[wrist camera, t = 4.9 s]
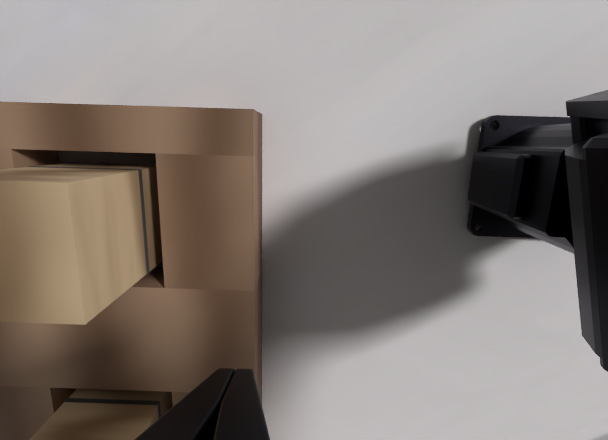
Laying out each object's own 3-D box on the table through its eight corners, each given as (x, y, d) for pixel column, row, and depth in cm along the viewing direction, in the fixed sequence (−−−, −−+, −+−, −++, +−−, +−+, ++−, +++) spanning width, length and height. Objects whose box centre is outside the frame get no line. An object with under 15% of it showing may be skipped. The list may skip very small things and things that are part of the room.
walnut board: (262, 114, 18) (228, 94, 11) (261, 472, 24) (239, 633, 16) (-33, 105, 18) (-283, 79, 11) (33, 464, 24) (-99, 621, 16)
